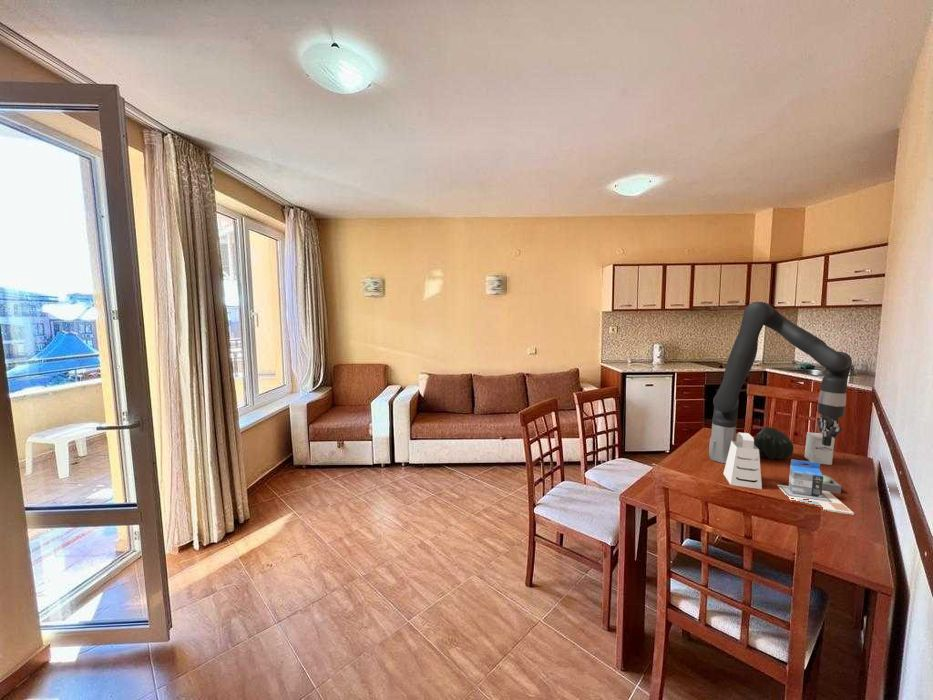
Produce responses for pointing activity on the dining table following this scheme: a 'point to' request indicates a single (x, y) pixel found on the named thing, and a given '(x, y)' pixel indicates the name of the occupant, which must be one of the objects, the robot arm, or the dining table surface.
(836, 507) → the picture board
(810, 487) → the label tape box
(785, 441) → the squash
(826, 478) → the button
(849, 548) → the dining table surface
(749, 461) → the grater
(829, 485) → the button housing
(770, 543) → the dining table surface
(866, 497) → the dining table surface
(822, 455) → the supplement box
